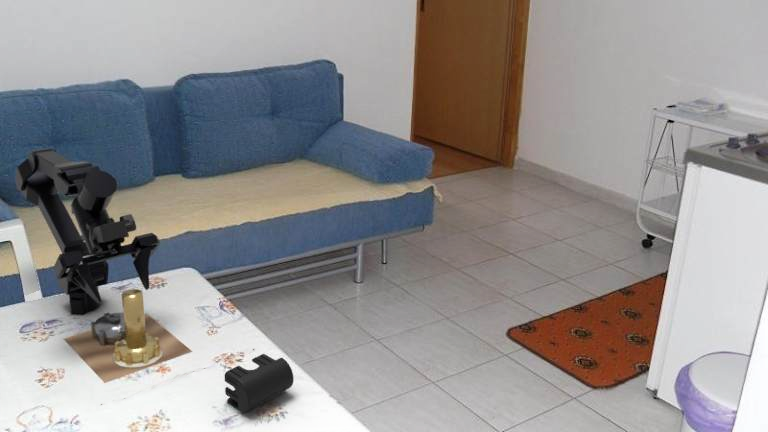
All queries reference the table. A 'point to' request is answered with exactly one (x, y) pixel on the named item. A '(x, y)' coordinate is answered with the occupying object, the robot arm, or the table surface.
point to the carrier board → (111, 369)
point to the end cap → (258, 382)
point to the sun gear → (109, 329)
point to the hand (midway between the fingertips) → (124, 295)
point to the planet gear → (135, 332)
